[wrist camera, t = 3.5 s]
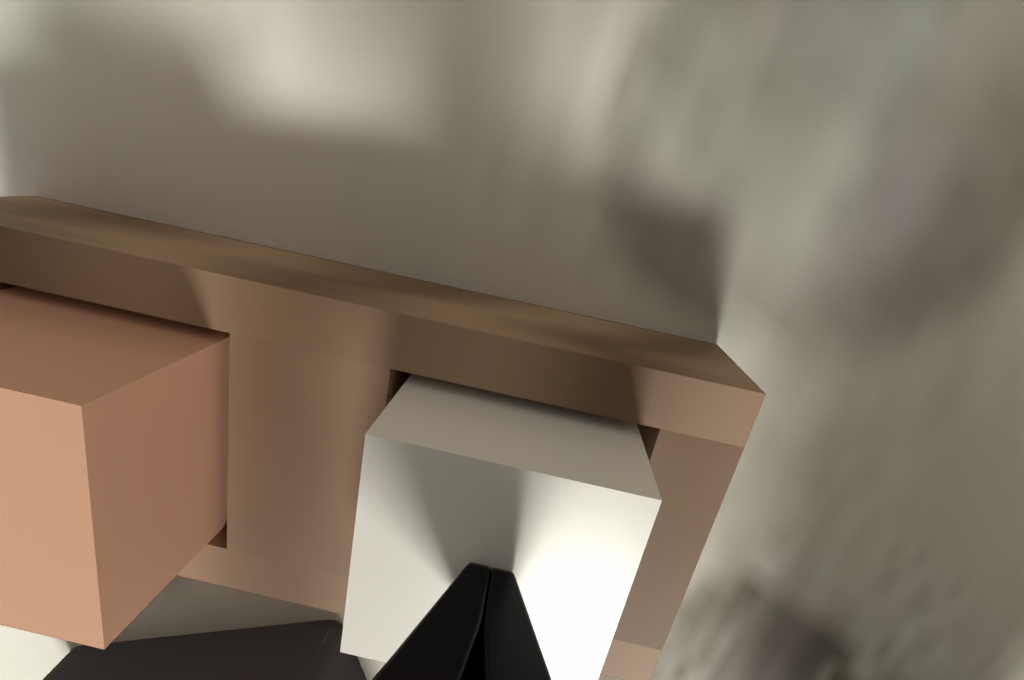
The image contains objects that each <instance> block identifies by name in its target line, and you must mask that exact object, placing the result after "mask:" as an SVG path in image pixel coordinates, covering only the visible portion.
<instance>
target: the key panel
mask: <svg viewBox="0 0 1024 680" xmlns="http://www.w3.org/2000/svg"><path fill="white" fill-rule="evenodd" d="M17 286H21V287H25V288H30V289H34V290H39V291H43V292H48V293H52V294H57V295H61V296H66V297H70V298H75V299H79V300H84V301H88V302H93V303H97V304H102V305H106V306H111V307H115V308H120V309H124V310H128V311H133V312H137V313H142V314H146V315H151V316H155V317H160V318H164V319H169V320H173V321H178V322H182V323H187V324H191V325H196V326H200V327H205V328H209V329H214V330H218V331H223V332H227V333H230V347H229V421H228V496H227V524H226V525H225V526H224V527H223V528H222V529H221V530H220V531H219V532H218V533H217V535H216V536H215V537H214V538H213V539H212V540H211V541H210V542H209V543H208V544H207V545H206V546H205V547H204V548H203V549H202V550H201V551H200V552H199V553H198V554H197V555H196V556H195V557H194V558H193V559H192V560H191V561H190V562H189V563H188V564H187V565H186V566H185V567H184V568H183V569H182V570H181V571H180V573H179V574H178V576H182V577H186V578H190V579H195V580H199V581H203V582H208V583H212V584H216V585H220V586H225V587H229V588H233V589H237V590H242V591H246V592H250V593H254V594H259V595H263V596H267V597H271V598H276V599H280V600H284V601H288V602H293V603H297V604H301V605H305V606H310V607H314V608H318V609H322V610H327V611H331V612H335V613H339V614H345V605H346V596H347V588H348V579H349V571H350V562H351V554H352V545H353V536H354V528H355V519H356V511H357V502H358V493H359V485H360V476H361V468H362V459H363V450H364V442H365V433H366V432H367V431H368V430H369V428H370V427H371V426H372V424H373V423H374V422H375V421H376V419H377V418H378V417H379V415H380V414H381V413H382V411H383V410H384V409H385V408H386V406H387V405H388V404H389V402H390V401H391V400H392V398H393V397H394V396H395V395H396V393H397V392H398V391H399V389H400V388H401V387H402V385H403V384H404V383H405V382H406V380H407V379H408V378H409V376H410V375H411V374H416V375H421V376H425V377H430V378H434V379H439V380H443V381H448V382H452V383H457V384H461V385H466V386H470V387H475V388H479V389H484V390H488V391H493V392H497V393H501V394H506V395H510V396H515V397H519V398H524V399H528V400H533V401H537V402H542V403H546V404H551V405H555V406H560V407H564V408H569V409H573V410H578V411H582V412H587V413H591V414H596V415H600V416H605V417H609V418H614V419H618V420H623V421H627V422H632V423H636V424H637V426H638V429H639V432H640V435H641V438H642V441H643V444H644V447H645V450H646V453H647V456H648V459H649V462H650V465H651V469H652V472H653V475H654V478H655V481H656V484H657V487H658V490H659V493H660V496H661V499H662V502H661V505H660V508H659V510H658V513H657V516H656V519H655V522H654V524H653V527H652V530H651V533H650V536H649V538H648V541H647V544H646V547H645V550H644V552H643V555H642V558H641V561H640V564H639V566H638V569H637V572H636V575H635V578H634V580H633V583H632V586H631V589H630V592H629V594H628V597H627V600H626V603H625V606H624V608H623V611H622V614H621V617H620V620H619V622H618V625H617V628H616V631H615V634H614V636H613V639H612V642H611V645H610V648H609V650H608V653H607V656H606V659H605V662H604V664H603V667H602V670H601V673H600V675H603V676H607V677H611V678H616V679H620V680H650V678H651V676H652V673H653V671H654V668H655V666H656V663H657V661H658V658H659V656H660V654H661V651H662V649H663V646H664V644H665V641H666V639H667V636H668V634H669V631H670V629H671V626H672V624H673V621H674V619H675V617H676V614H677V612H678V609H679V607H680V604H681V602H682V599H683V597H684V594H685V592H686V589H687V587H688V584H689V582H690V579H691V577H692V575H693V572H694V570H695V567H696V565H697V562H698V560H699V557H700V555H701V552H702V550H703V547H704V545H705V542H706V540H707V537H708V535H709V533H710V530H711V528H712V525H713V523H714V520H715V518H716V515H717V513H718V510H719V508H720V505H721V503H722V500H723V498H724V495H725V493H726V491H727V488H728V486H729V483H730V481H731V478H732V476H733V473H734V471H735V468H736V466H737V463H738V461H739V458H740V456H741V453H742V451H743V449H744V446H745V444H746V441H747V439H748V436H749V434H750V431H751V429H752V426H753V424H754V421H755V419H756V416H757V414H758V412H759V409H760V407H761V404H762V402H763V399H764V397H765V393H764V392H763V391H762V390H761V389H760V388H759V387H758V386H757V385H756V384H755V383H754V382H753V381H752V380H751V379H750V378H749V377H748V376H747V375H746V374H745V373H744V372H743V371H742V370H741V369H740V368H739V367H738V366H737V365H736V363H735V362H734V361H733V360H732V359H731V358H730V357H729V356H728V355H727V354H726V353H725V352H724V351H723V350H722V349H721V348H720V347H719V346H718V345H715V344H710V343H706V342H701V341H697V340H692V339H687V338H683V337H678V336H674V335H669V334H664V333H660V332H655V331H651V330H646V329H642V328H637V327H632V326H628V325H623V324H619V323H614V322H609V321H605V320H600V319H596V318H591V317H586V316H582V315H577V314H573V313H568V312H563V311H559V310H554V309H550V308H545V307H541V306H536V305H531V304H527V303H522V302H518V301H513V300H508V299H504V298H499V297H495V296H490V295H485V294H481V293H476V292H472V291H467V290H462V289H458V288H453V287H449V286H444V285H440V284H435V283H430V282H426V281H421V280H417V279H412V278H407V277H403V276H398V275H394V274H389V273H384V272H380V271H375V270H371V269H366V268H361V267H357V266H352V265H348V264H343V263H339V262H334V261H329V260H325V259H320V258H316V257H311V256H306V255H302V254H297V253H293V252H288V251H283V250H279V249H274V248H270V247H265V246H260V245H256V244H251V243H247V242H242V241H238V240H233V239H228V238H224V237H219V236H215V235H210V234H205V233H201V232H196V231H192V230H187V229H182V228H178V227H173V226H169V225H164V224H159V223H155V222H150V221H146V220H141V219H137V218H132V217H127V216H123V215H118V214H114V213H109V212H104V211H100V210H95V209H91V208H86V207H81V206H77V205H72V204H68V203H63V202H58V201H54V200H49V199H45V198H40V197H36V196H15V197H0V290H1V289H6V288H12V287H17Z"/></svg>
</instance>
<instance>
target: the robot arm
mask: <svg viewBox="0 0 1024 680" xmlns="http://www.w3.org/2000/svg"><path fill="white" fill-rule="evenodd" d="M372 680H552V679H551V677H550V674H549V671H548V668H547V665H546V662H545V660H544V657H543V654H542V651H541V648H540V645H539V643H538V640H537V637H536V634H535V631H534V628H533V625H532V623H531V620H530V617H529V614H528V611H527V608H526V606H525V603H524V600H523V597H522V594H521V591H520V589H519V586H518V583H517V580H516V577H515V575H514V573H513V572H511V571H507V570H503V569H498V568H493V569H492V570H491V572H490V568H489V566H485V565H481V564H477V563H472V562H471V563H469V564H467V565H466V566H465V568H464V569H463V570H462V571H461V573H460V574H459V575H458V576H457V577H456V579H455V580H454V581H453V582H452V583H451V585H450V586H449V587H448V588H447V590H446V591H445V592H444V593H443V594H442V596H441V597H440V598H439V599H438V600H437V602H436V603H435V604H434V605H433V607H432V608H431V609H430V610H429V611H428V613H427V614H426V615H425V616H424V617H423V619H422V620H421V621H420V622H419V624H418V625H417V626H416V627H415V628H414V630H413V631H412V632H411V633H410V634H409V636H408V637H407V638H406V639H405V641H404V642H403V643H402V644H401V645H400V647H399V648H398V649H397V650H396V651H395V653H394V654H393V655H392V656H391V658H390V659H389V660H388V661H387V662H386V664H385V665H384V666H383V667H382V668H381V670H380V671H379V672H378V673H377V675H376V676H375V677H374V678H373V679H372Z"/></svg>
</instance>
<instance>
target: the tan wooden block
mask: <svg viewBox="0 0 1024 680" xmlns="http://www.w3.org/2000/svg"><path fill="white" fill-rule="evenodd" d="M229 347H230V333H227V332H223V331H218V330H214V329H209V328H205V327H200V326H196V325H191V324H187V323H182V322H178V321H173V320H169V319H164V318H160V317H155V316H151V315H146V314H142V313H137V312H133V311H128V310H124V309H120V308H115V307H111V306H106V305H102V304H97V303H93V302H88V301H84V300H79V299H75V298H70V297H66V296H61V295H57V294H52V293H48V292H43V291H39V290H34V289H30V288H25V287H21V286H17V287H12V288H6V289H1V290H0V625H4V626H8V627H12V628H16V629H20V630H25V631H29V632H33V633H37V634H41V635H45V636H50V637H54V638H58V639H62V640H66V641H70V642H75V643H79V644H83V645H87V646H91V647H96V648H100V649H104V650H105V649H106V647H107V646H108V645H109V644H110V643H111V642H112V641H113V640H114V639H115V638H116V637H117V636H118V635H119V634H120V633H121V632H122V631H123V630H124V629H125V628H126V627H127V626H128V625H129V624H130V623H131V622H132V621H133V620H134V619H135V618H136V617H137V616H138V615H139V614H140V613H141V612H142V611H143V609H144V608H145V607H146V606H147V605H148V604H149V603H150V602H151V601H152V600H153V599H154V598H155V597H156V596H157V595H158V594H159V593H160V592H161V591H162V590H163V589H164V588H165V587H166V586H167V585H168V584H169V583H170V582H171V581H172V580H173V579H174V578H175V577H176V576H177V575H178V574H179V573H180V571H181V570H182V569H183V568H184V567H185V566H186V565H187V564H188V563H189V562H190V561H191V560H192V559H193V558H194V557H195V556H196V555H197V554H198V553H199V552H200V551H201V550H202V549H203V548H204V547H205V546H206V545H207V544H208V543H209V542H210V541H211V540H212V539H213V538H214V537H215V536H216V535H217V533H218V532H219V531H220V530H221V529H222V528H223V527H224V526H225V525H226V524H227V496H228V421H229Z"/></svg>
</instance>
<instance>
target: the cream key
mask: <svg viewBox="0 0 1024 680" xmlns="http://www.w3.org/2000/svg"><path fill="white" fill-rule="evenodd" d="M661 502H662V499H661V496H660V493H659V490H658V487H657V484H656V481H655V478H654V475H653V472H652V469H651V465H650V462H649V459H648V456H647V453H646V450H645V447H644V444H643V441H642V438H641V435H640V432H639V429H638V426H637V424H636V423H632V422H627V421H623V420H618V419H614V418H609V417H605V416H600V415H596V414H591V413H587V412H582V411H578V410H573V409H569V408H564V407H560V406H555V405H551V404H546V403H542V402H537V401H533V400H528V399H524V398H519V397H515V396H510V395H506V394H501V393H497V392H493V391H488V390H484V389H479V388H475V387H470V386H466V385H461V384H457V383H452V382H448V381H443V380H439V379H434V378H430V377H425V376H421V375H416V374H411V375H410V376H409V378H408V379H407V380H406V382H405V383H404V384H403V385H402V387H401V388H400V389H399V391H398V392H397V393H396V395H395V396H394V397H393V398H392V400H391V401H390V402H389V404H388V405H387V406H386V408H385V409H384V410H383V411H382V413H381V414H380V415H379V417H378V418H377V419H376V421H375V422H374V423H373V424H372V426H371V427H370V428H369V430H368V431H367V432H366V433H365V442H364V450H363V459H362V468H361V476H360V485H359V493H358V502H357V511H356V519H355V528H354V536H353V545H352V554H351V562H350V571H349V579H348V588H347V596H346V605H345V614H344V622H343V631H342V639H341V648H340V652H342V653H346V654H350V655H355V656H359V657H363V658H367V659H371V660H376V661H380V662H384V663H386V662H387V661H388V660H389V659H390V658H391V656H392V655H393V654H394V653H395V651H396V650H397V649H398V648H399V647H400V645H401V644H402V643H403V642H404V641H405V639H406V638H407V637H408V636H409V634H410V633H411V632H412V631H413V630H414V628H415V627H416V626H417V625H418V624H419V622H420V621H421V620H422V619H423V617H424V616H425V615H426V614H427V613H428V611H429V610H430V609H431V608H432V607H433V605H434V604H435V603H436V602H437V600H438V599H439V598H440V597H441V596H442V594H443V593H444V592H445V591H446V590H447V588H448V587H449V586H450V585H451V583H452V582H453V581H454V580H455V579H456V577H457V576H458V575H459V574H460V573H461V571H462V570H463V569H464V568H465V566H466V565H467V564H469V563H471V562H472V563H477V564H481V565H485V566H489V568H490V572H491V570H492V569H493V568H498V569H503V570H507V571H511V572H513V573H514V575H515V577H516V580H517V583H518V586H519V589H520V591H521V594H522V597H523V600H524V603H525V606H526V608H527V611H528V614H529V617H530V620H531V623H532V625H533V628H534V631H535V634H536V637H537V640H538V643H539V645H540V648H541V651H542V654H543V657H544V660H545V662H546V665H547V668H548V671H549V674H550V677H551V679H552V680H598V678H599V676H600V673H601V670H602V667H603V664H604V662H605V659H606V656H607V653H608V650H609V648H610V645H611V642H612V639H613V636H614V634H615V631H616V628H617V625H618V622H619V620H620V617H621V614H622V611H623V608H624V606H625V603H626V600H627V597H628V594H629V592H630V589H631V586H632V583H633V580H634V578H635V575H636V572H637V569H638V566H639V564H640V561H641V558H642V555H643V552H644V550H645V547H646V544H647V541H648V538H649V536H650V533H651V530H652V527H653V524H654V522H655V519H656V516H657V513H658V510H659V508H660V505H661Z"/></svg>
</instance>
